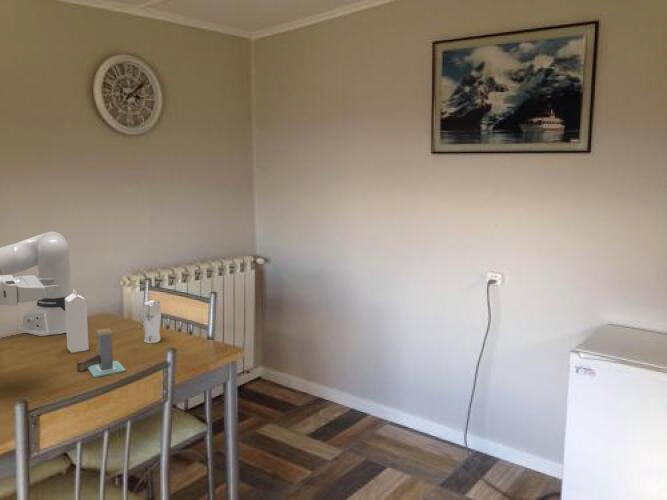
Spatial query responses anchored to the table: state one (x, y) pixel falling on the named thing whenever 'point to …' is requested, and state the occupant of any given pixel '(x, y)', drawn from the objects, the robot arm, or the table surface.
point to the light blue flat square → (98, 372)
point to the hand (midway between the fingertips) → (56, 284)
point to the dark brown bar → (87, 362)
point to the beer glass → (151, 321)
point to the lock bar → (105, 349)
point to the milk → (76, 323)
